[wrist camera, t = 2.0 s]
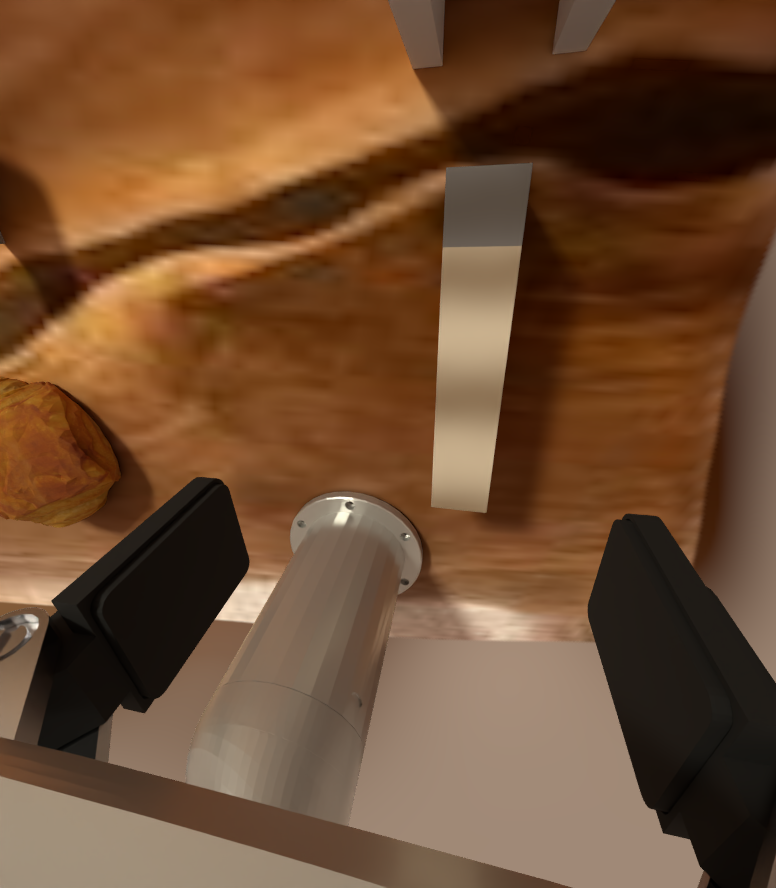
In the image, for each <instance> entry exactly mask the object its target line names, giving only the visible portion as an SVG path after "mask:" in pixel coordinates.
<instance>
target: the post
mask: <svg viewBox="0 0 776 888" xmlns="http://www.w3.org/2000/svg"><path fill="white" fill-rule="evenodd" d="M388 1H389V4H390V7H391V10H392V12H393V15H394V18H395V21H396V24H397V26H398V29H399V32H400V35H401V37H402V40H403V43H404V46H405V48H406V51H407V54H408V57H409V60H410V62H411V65H412V68H413V69H418V68H428V67H437V66H443V40H444V13H445V0H388ZM615 1H616V0H560V1H559V9H558V16H557V23H556V30H555V38H554V45H553V52H552V54H560V53H570V52H579V51H586V50H587V48H588V47H589V45H590V43H591V42H592V40H593V38H594V36H595V35H596V33H597V31H598V30H599V28H600V26H601V25H602V23H603V21H604V20H605V18H606V16H607V14H608V13H609V11H610V9H611V8H612V6H613V4H614V3H615Z"/></svg>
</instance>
